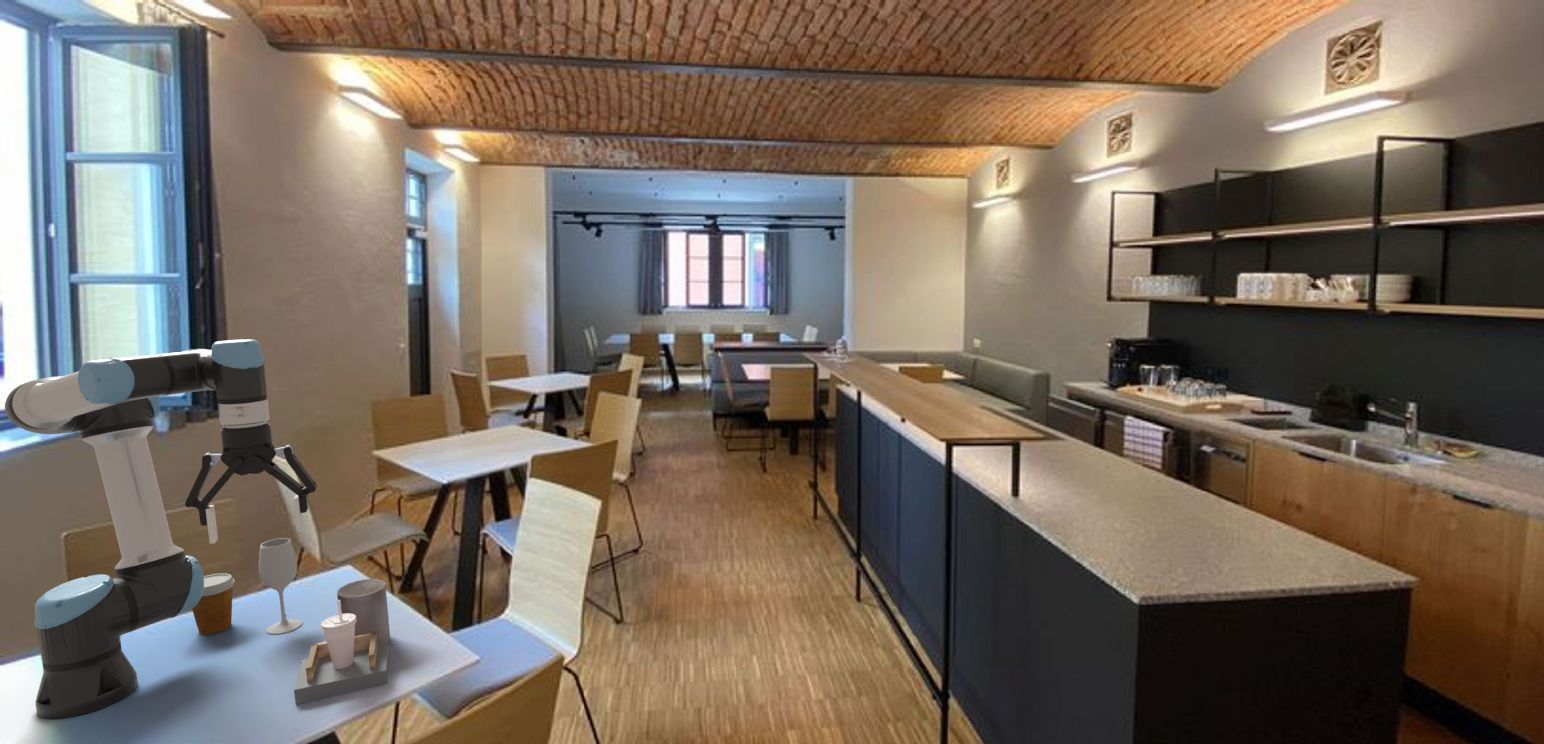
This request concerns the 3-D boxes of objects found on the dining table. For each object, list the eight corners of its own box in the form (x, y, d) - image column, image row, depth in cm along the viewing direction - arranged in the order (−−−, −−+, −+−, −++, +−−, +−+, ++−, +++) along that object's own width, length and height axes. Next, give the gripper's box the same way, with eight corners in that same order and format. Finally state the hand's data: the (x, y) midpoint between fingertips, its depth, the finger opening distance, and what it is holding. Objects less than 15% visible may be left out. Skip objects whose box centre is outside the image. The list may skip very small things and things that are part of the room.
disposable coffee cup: (188, 628, 182) (182, 580, 180) (236, 615, 188) (230, 569, 186) (192, 642, 175) (186, 592, 173) (242, 628, 181) (236, 580, 179)
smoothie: (344, 673, 154) (337, 608, 152) (318, 670, 155) (310, 605, 153) (368, 657, 160) (361, 594, 158) (342, 654, 161) (335, 592, 159)
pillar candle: (339, 643, 173) (332, 580, 171) (386, 630, 179) (380, 569, 176) (346, 660, 165) (339, 595, 163) (395, 646, 171) (389, 583, 169)
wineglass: (279, 619, 185) (270, 536, 182) (310, 619, 185) (301, 536, 182) (257, 634, 178) (248, 548, 175) (289, 634, 177) (280, 548, 175)
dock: (295, 704, 148) (294, 689, 148) (304, 672, 160) (302, 659, 159) (387, 684, 155) (385, 670, 154) (389, 655, 167) (387, 642, 166)
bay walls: (307, 682, 150) (305, 668, 150) (313, 657, 160) (312, 643, 160) (375, 668, 155) (374, 654, 155) (377, 644, 165) (376, 631, 165)
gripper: (154, 435, 131) (169, 553, 134) (321, 420, 141) (332, 530, 144) (167, 427, 138) (181, 539, 141) (325, 414, 148) (336, 519, 151)
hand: (258, 535), depth 142 cm, fingers open, 13 cm apart
